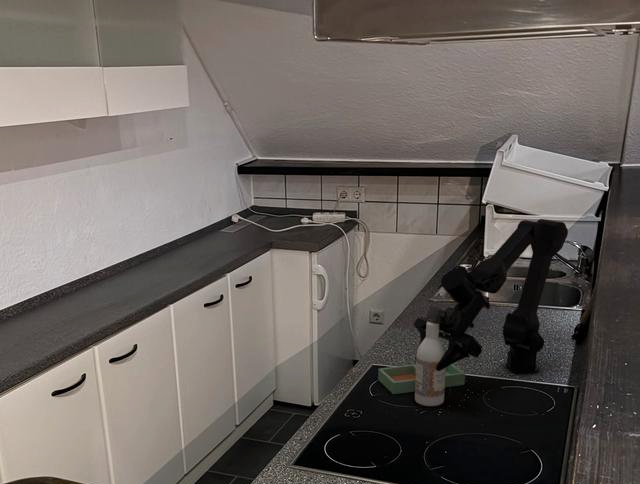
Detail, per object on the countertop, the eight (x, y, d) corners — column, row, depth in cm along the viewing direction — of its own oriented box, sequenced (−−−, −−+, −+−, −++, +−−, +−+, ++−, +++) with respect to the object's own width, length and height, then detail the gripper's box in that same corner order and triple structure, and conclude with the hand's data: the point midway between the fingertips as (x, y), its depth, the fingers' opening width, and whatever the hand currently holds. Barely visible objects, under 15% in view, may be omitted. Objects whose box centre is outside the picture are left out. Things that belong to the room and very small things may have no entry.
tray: (446, 370, 202) (447, 359, 201) (464, 384, 193) (465, 373, 192) (378, 379, 198) (378, 368, 197) (393, 394, 189) (393, 382, 188)
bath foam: (428, 409, 180) (432, 329, 172) (408, 400, 185) (411, 321, 178) (450, 402, 183) (454, 323, 176) (429, 393, 189) (433, 316, 181)
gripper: (420, 284, 184) (383, 336, 183) (476, 302, 169) (435, 359, 168) (443, 310, 190) (407, 360, 189) (499, 329, 175) (460, 384, 174)
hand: (426, 365), depth 180 cm, fingers closed on bath foam, 7 cm apart
